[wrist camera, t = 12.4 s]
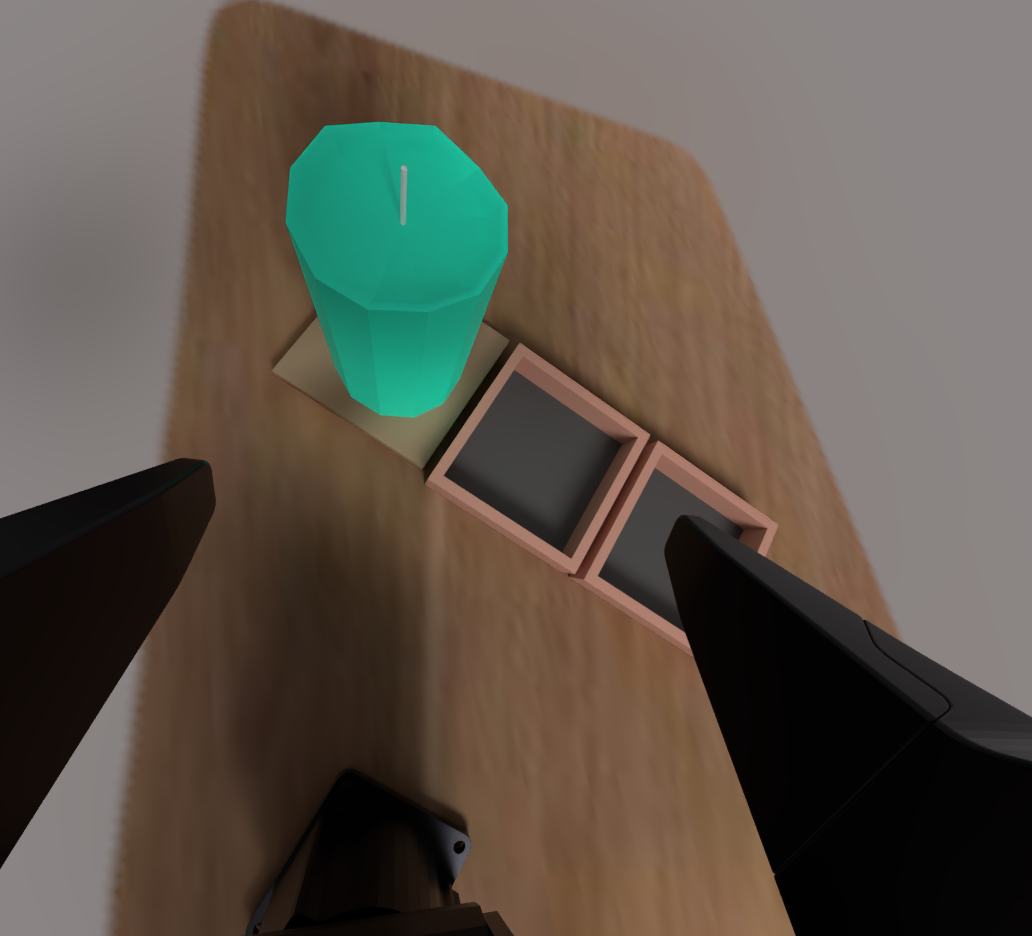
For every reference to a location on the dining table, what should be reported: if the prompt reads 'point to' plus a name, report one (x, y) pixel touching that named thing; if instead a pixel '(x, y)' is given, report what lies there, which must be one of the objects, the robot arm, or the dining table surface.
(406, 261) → the candle
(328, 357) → the pad
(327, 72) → the dining table surface
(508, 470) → the tray
